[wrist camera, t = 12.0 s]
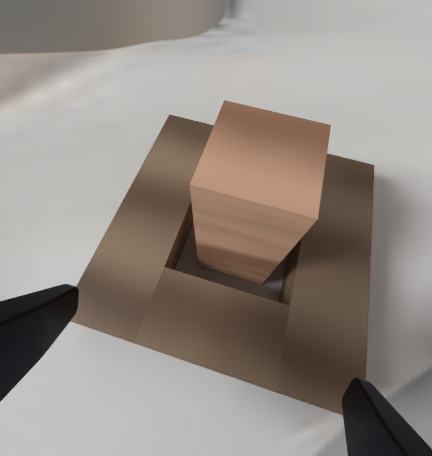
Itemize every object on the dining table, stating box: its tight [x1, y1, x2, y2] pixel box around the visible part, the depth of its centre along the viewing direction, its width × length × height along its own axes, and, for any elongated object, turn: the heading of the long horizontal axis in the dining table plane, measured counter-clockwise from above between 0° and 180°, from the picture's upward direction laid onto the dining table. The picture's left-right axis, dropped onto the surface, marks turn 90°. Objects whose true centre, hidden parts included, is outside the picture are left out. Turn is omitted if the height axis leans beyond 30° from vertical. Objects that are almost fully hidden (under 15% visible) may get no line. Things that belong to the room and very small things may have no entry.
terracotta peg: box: [190, 100, 331, 285], centre depth 14 cm, size 5×5×10 cm
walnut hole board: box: [71, 115, 374, 415], centre depth 17 cm, size 16×16×3 cm
